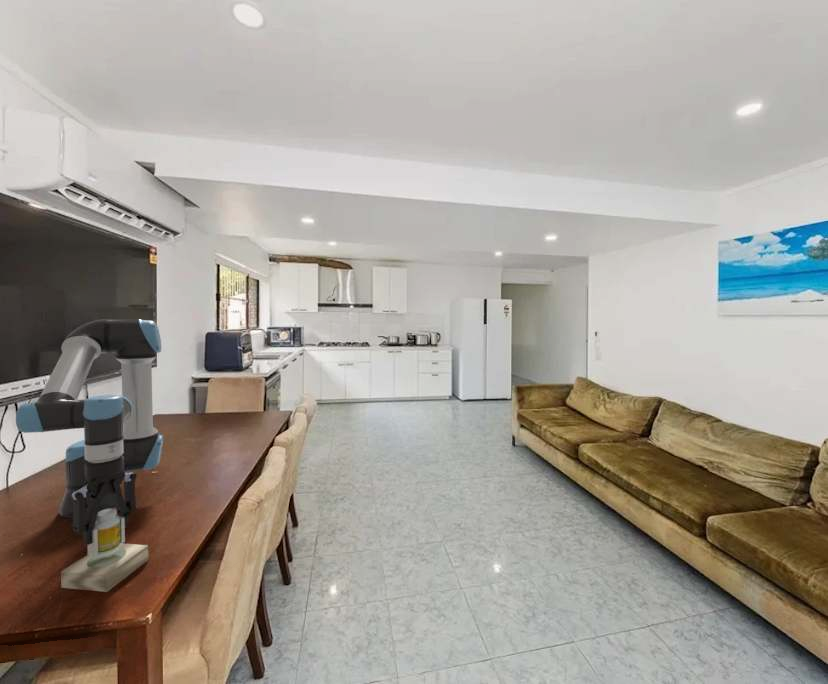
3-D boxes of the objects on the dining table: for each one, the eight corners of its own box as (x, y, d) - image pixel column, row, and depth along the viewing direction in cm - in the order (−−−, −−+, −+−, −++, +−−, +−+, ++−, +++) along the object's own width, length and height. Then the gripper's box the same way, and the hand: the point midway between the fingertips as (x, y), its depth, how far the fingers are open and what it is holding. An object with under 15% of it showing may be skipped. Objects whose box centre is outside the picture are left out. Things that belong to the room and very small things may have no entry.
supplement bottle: (91, 549, 93) (90, 511, 93) (118, 540, 97) (117, 504, 96) (94, 558, 89) (93, 519, 89) (122, 548, 93) (121, 511, 93)
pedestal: (61, 587, 88) (60, 570, 88) (107, 556, 100) (107, 541, 100) (106, 591, 87) (106, 574, 87) (148, 559, 99) (148, 544, 99)
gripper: (68, 473, 82) (71, 574, 83) (152, 448, 99) (153, 532, 100) (49, 468, 85) (51, 566, 86) (133, 445, 102) (135, 526, 103)
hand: (106, 547), depth 93 cm, fingers closed on supplement bottle, 5 cm apart
